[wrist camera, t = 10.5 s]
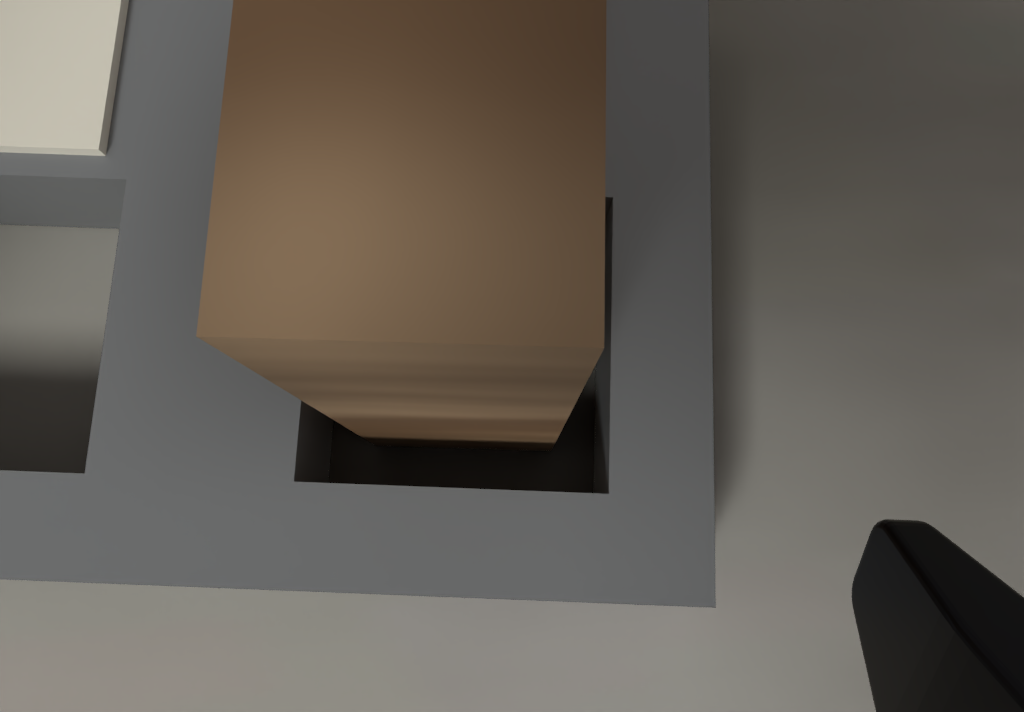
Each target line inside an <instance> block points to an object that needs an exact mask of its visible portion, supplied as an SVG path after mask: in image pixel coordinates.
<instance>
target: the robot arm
mask: <svg viewBox="0 0 1024 712" xmlns="http://www.w3.org/2000/svg"><path fill="white" fill-rule="evenodd" d="M852 604H853V610H854V614H855V619H856V623H857V628H858V632H859V637H860V641H861V646H862V650H863V655H864V659H865V664H866V668H867V673H868V677H869V682H870V686H871V691H872V695H873V700H874V704H875V709H876V712H1024V597H1022V596H1021V595H1020V594H1019V593H1017V592H1016V591H1015V590H1013V589H1012V588H1011V587H1010V586H1008V585H1007V584H1006V583H1004V582H1003V581H1002V580H1001V579H999V578H998V577H997V576H995V575H994V574H993V573H992V572H990V571H989V570H988V569H987V568H985V567H984V566H983V565H981V564H980V563H979V562H978V561H976V560H975V559H974V558H972V557H971V556H970V555H969V554H967V553H966V552H965V551H963V550H962V549H961V548H960V547H958V546H957V545H956V544H954V543H953V542H952V541H951V540H949V539H948V538H947V537H945V536H944V535H943V534H942V533H940V532H939V531H938V530H937V529H935V528H934V527H932V526H931V525H929V524H927V523H925V522H922V521H912V520H888V519H887V520H882V521H879V522H878V523H877V524H876V525H875V526H874V527H873V529H872V531H871V533H870V536H869V539H868V542H867V544H866V547H865V550H864V553H863V555H862V558H861V561H860V564H859V566H858V569H857V572H856V575H855V577H854V581H853V586H852Z"/></svg>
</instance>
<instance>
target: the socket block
mask: <svg viewBox="0 0 1024 712" xmlns="http://www.w3.org/2000/svg"><path fill="white" fill-rule="evenodd" d="M232 8H233V0H0V224H9V225H36V226H63V227H90V228H118V229H119V236H118V243H117V250H116V257H115V264H114V271H113V278H112V285H111V292H110V299H109V306H108V313H107V320H106V327H105V334H104V341H103V348H102V355H101V362H100V369H99V376H98V383H97V390H96V397H95V404H94V411H93V418H92V425H91V432H90V439H89V446H88V453H87V460H86V467H85V473H59V472H33V471H7V470H0V579H7V580H33V581H58V582H83V583H108V584H133V585H159V586H184V587H209V588H234V589H259V590H285V591H310V592H335V593H360V594H385V595H411V596H436V597H461V598H486V599H511V600H537V601H562V602H587V603H612V604H637V605H663V606H688V607H713V608H716V600H715V515H714V429H713V343H712V257H711V171H710V86H709V0H607V4H606V160H605V316H604V350H603V352H602V354H601V355H600V357H599V359H598V361H597V363H596V383H595V439H594V493H575V492H549V491H523V490H497V489H471V488H446V487H420V486H394V485H368V484H342V483H329V471H330V459H331V447H332V435H333V423H334V420H333V419H331V418H329V417H328V416H326V415H325V414H323V413H321V412H320V411H318V410H316V409H315V408H313V407H311V406H310V405H308V404H306V403H305V402H303V401H302V400H300V399H298V398H297V397H295V396H293V395H292V394H290V393H288V392H287V391H285V390H283V389H282V388H280V387H279V386H277V385H275V384H274V383H272V382H270V381H269V380H267V379H265V378H264V377H262V376H260V375H259V374H257V373H256V372H254V371H252V370H251V369H249V368H247V367H246V366H244V365H242V364H241V363H239V362H237V361H236V360H234V359H233V358H231V357H229V356H228V355H226V354H224V353H223V352H221V351H219V350H218V349H216V348H214V347H213V346H211V345H210V344H208V343H206V342H205V341H203V340H201V339H200V338H198V337H196V334H197V325H198V316H199V307H200V298H201V289H202V279H203V270H204V261H205V252H206V243H207V234H208V225H209V216H210V207H211V198H212V189H213V180H214V171H215V162H216V153H217V144H218V135H219V126H220V117H221V108H222V99H223V90H224V81H225V71H226V62H227V53H228V44H229V35H230V26H231V17H232Z"/></svg>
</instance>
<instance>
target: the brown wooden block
mask: <svg viewBox="0 0 1024 712" xmlns="http://www.w3.org/2000/svg"><path fill="white" fill-rule="evenodd" d="M606 4H607V0H233V8H232V17H231V26H230V35H229V44H228V53H227V62H226V71H225V81H224V90H223V99H222V108H221V117H220V126H219V135H218V144H217V153H216V162H215V171H214V180H213V189H212V198H211V207H210V216H209V225H208V234H207V243H206V252H205V261H204V270H203V279H202V289H201V298H200V307H199V316H198V325H197V334H196V337H198V338H200V339H201V340H203V341H205V342H206V343H208V344H210V345H211V346H213V347H214V348H216V349H218V350H219V351H221V352H223V353H224V354H226V355H228V356H229V357H231V358H233V359H234V360H236V361H237V362H239V363H241V364H242V365H244V366H246V367H247V368H249V369H251V370H252V371H254V372H256V373H257V374H259V375H260V376H262V377H264V378H265V379H267V380H269V381H270V382H272V383H274V384H275V385H277V386H279V387H280V388H282V389H283V390H285V391H287V392H288V393H290V394H292V395H293V396H295V397H297V398H298V399H300V400H302V401H303V402H305V403H306V404H308V405H310V406H311V407H313V408H315V409H316V410H318V411H320V412H321V413H323V414H325V415H326V416H328V417H329V418H331V419H333V420H334V421H336V422H338V423H339V424H341V425H343V426H344V427H346V428H348V429H349V430H351V431H352V432H354V433H356V434H357V435H359V436H361V437H362V438H364V439H366V440H367V441H369V442H371V443H372V444H374V445H375V446H394V447H428V448H462V449H496V450H530V451H551V450H552V448H553V446H554V444H555V442H556V441H557V439H558V437H559V435H560V433H561V431H562V429H563V427H564V425H565V423H566V421H567V419H568V417H569V415H570V413H571V412H572V410H573V408H574V406H575V404H576V402H577V400H578V398H579V396H580V394H581V392H582V390H583V388H584V386H585V384H586V383H587V381H588V379H589V377H590V375H591V373H592V371H593V369H594V367H595V365H596V363H597V361H598V359H599V357H600V355H601V354H602V352H603V350H604V316H605V160H606Z"/></svg>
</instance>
